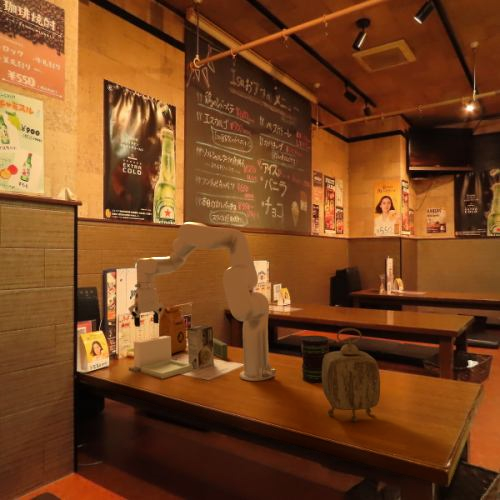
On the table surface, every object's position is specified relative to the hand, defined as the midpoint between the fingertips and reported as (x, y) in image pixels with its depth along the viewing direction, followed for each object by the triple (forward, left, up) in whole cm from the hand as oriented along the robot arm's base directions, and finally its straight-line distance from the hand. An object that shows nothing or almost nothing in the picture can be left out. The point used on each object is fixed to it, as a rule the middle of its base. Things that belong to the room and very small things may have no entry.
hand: (146, 324), depth 181 cm
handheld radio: (-13, -28, -17) cm, 35 cm away
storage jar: (-73, -22, -16) cm, 78 cm away
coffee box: (-24, -10, -16) cm, 31 cm away
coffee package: (+5, -18, -16) cm, 25 cm away
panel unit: (-7, +2, -16) cm, 18 cm away
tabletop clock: (-100, +2, -16) cm, 101 cm away
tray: (-19, +4, -16) cm, 25 cm away
